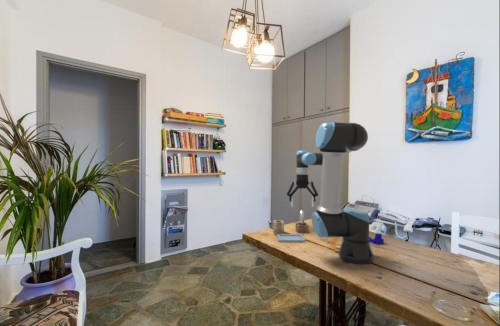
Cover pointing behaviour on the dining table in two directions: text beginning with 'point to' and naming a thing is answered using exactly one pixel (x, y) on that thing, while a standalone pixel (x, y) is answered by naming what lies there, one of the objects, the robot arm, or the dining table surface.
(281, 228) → the block
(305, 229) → the brown hollow block
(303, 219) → the silver metal rod
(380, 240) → the cable clip
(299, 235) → the tray
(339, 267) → the dining table surface
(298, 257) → the dining table surface
